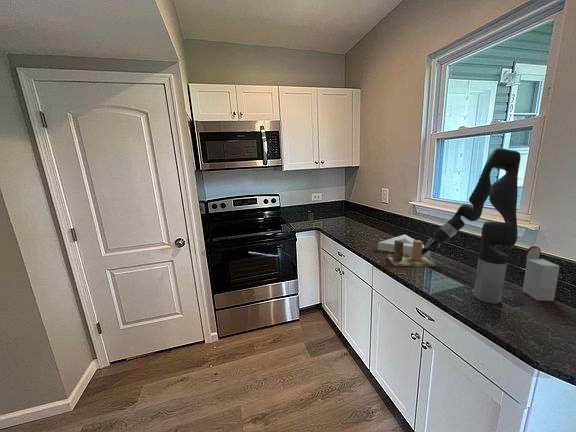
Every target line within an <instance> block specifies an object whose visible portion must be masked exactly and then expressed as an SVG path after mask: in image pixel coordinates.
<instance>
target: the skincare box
mask: <svg viewBox="0 0 576 432" xmlns="http://www.w3.org/2000/svg"><path fill="white" fill-rule="evenodd" d="M559 272H560V265H558V264H556V263H553V262H551V261H549V260H546V259H544V258H539V259H527V263H526V262H525V272H524V278H523V286H522V292H523V293H524V294H526V295H528V296H530V297H531V298H533V299H534V300H536V301H540V302H542V301H544V302H554V300H555V295H556V290H557V285H558V277H559Z"/></svg>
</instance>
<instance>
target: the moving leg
mask: <svg viewBox="0 0 576 432" xmlns="http://www.w3.org/2000/svg"><path fill="white" fill-rule="evenodd" d="M422 244H423V245H424V242H423V241H421V240H420V239H414V240H413V250H412V255H411V256H412V259H413V260H421V255H422Z"/></svg>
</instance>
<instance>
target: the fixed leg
mask: <svg viewBox="0 0 576 432" xmlns="http://www.w3.org/2000/svg"><path fill="white" fill-rule="evenodd" d="M403 243H404V242H402V241H401V240H395V244H394V253H393V254H392V255H393V257H394V259H395V260H396V261H402V257H403V255H404V254H403Z"/></svg>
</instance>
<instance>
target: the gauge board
mask: <svg viewBox="0 0 576 432" xmlns="http://www.w3.org/2000/svg"><path fill="white" fill-rule="evenodd" d="M393 255H394V254H387V256H386V259H387V258H388V259H389V260H390V261H391V262H392V263H393V264H394V265H395V266H414V267H415V268H417V267H421V268H422V267H423V268H424V267H426V268H427V267H429V268H430V267H434V268H435V267H436V263H434V261H432V260H430V258H429V257H425V255H421V260H413V259H412V256H411V255H406V254H403V257H402V261H396V260H395V259H394V257H393ZM388 259H387V260H388ZM389 260H388V261H389ZM390 261H389V262H390ZM391 262H390V263H391ZM392 263H391V264H392ZM414 267H413V268H414Z"/></svg>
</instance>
